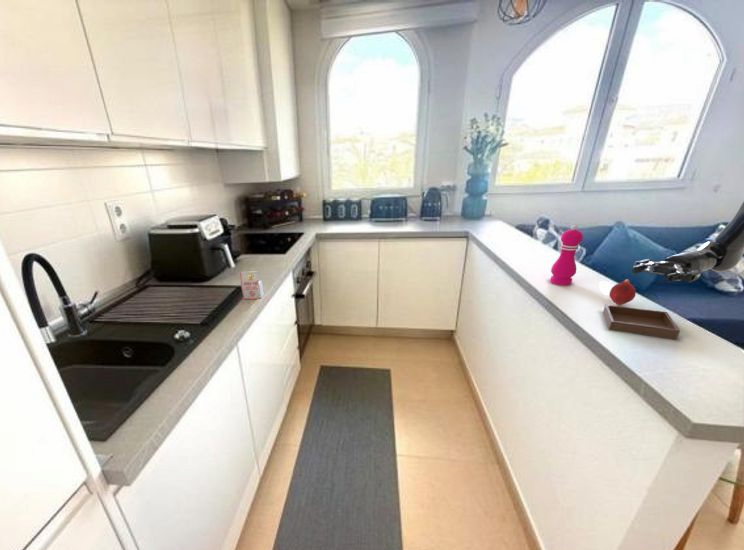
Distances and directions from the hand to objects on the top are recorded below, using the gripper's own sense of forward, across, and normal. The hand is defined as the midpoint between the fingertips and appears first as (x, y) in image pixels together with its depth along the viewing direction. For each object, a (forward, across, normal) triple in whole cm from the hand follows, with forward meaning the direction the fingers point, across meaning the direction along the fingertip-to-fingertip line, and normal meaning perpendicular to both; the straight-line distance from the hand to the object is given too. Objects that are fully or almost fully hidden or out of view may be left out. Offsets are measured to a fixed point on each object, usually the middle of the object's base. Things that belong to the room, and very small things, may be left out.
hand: (650, 274), depth 102 cm
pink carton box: (+109, -63, +8) cm, 126 cm away
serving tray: (+19, +10, +8) cm, 23 cm away
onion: (+10, 0, +8) cm, 13 cm away
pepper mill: (+8, -20, +8) cm, 23 cm away
